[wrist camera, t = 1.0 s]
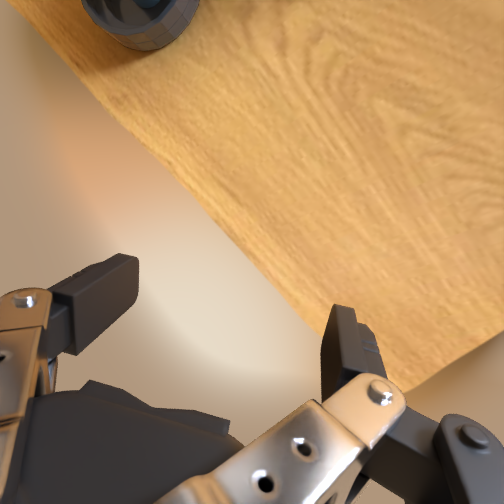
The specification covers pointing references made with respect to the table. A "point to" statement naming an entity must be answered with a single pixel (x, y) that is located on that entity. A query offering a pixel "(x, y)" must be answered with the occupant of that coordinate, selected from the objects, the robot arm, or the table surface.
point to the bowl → (142, 21)
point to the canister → (146, 3)
